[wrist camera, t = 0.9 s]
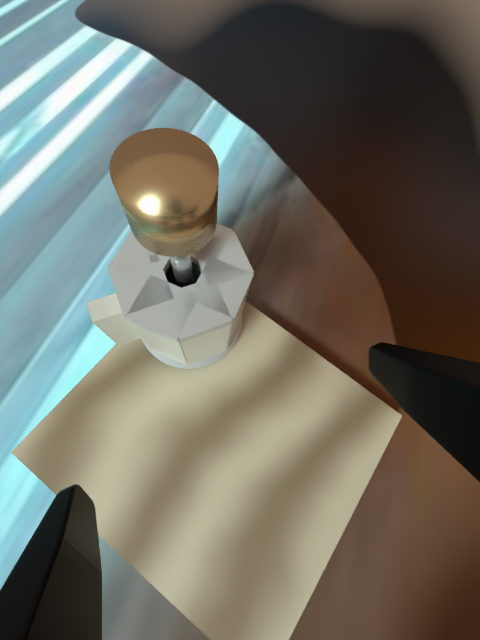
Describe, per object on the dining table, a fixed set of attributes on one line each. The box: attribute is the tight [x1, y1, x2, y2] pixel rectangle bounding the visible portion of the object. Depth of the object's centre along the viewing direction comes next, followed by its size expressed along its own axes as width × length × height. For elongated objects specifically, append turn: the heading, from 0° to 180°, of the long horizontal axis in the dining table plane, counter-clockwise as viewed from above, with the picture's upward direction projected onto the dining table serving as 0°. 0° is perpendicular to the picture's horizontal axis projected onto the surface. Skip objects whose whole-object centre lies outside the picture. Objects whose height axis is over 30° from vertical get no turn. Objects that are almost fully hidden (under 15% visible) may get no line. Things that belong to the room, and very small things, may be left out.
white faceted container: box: [87, 223, 254, 370], centre depth 19 cm, size 9×8×8 cm
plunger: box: [110, 128, 219, 288], centre depth 14 cm, size 5×5×9 cm
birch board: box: [11, 301, 402, 640], centre depth 21 cm, size 20×18×1 cm
